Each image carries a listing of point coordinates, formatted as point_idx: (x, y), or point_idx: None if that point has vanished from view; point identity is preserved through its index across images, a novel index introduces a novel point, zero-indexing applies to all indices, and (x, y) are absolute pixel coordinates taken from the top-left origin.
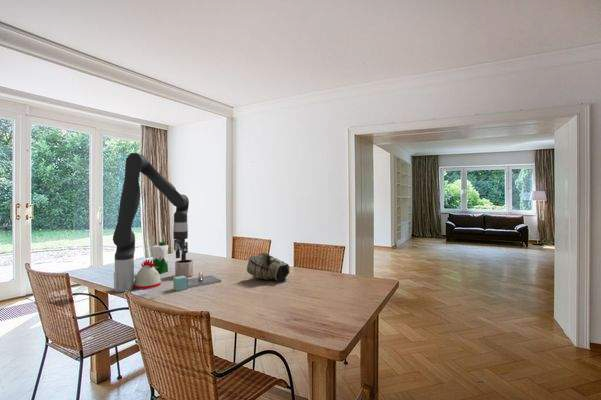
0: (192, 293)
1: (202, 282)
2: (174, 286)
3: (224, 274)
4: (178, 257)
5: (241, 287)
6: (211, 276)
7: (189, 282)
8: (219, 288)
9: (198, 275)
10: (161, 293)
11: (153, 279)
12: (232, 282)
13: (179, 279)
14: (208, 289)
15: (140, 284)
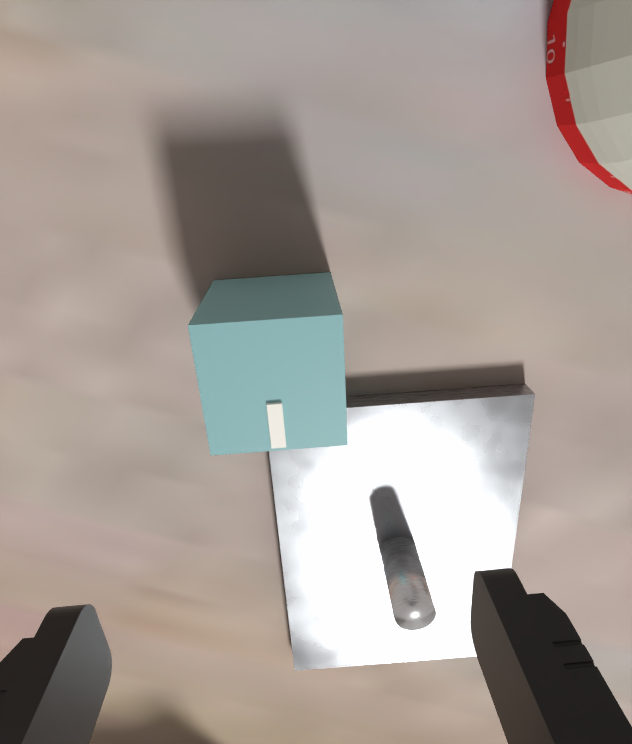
0: (48, 387)
1: (306, 545)
2: (292, 283)
3: (493, 721)
4: (475, 623)
5: None
6: (456, 646)
7: (387, 457)
8: (101, 596)
9: (410, 577)
10: (216, 98)
11: (625, 59)
12: (223, 701)
13: (196, 357)
14: (115, 527)
15: None
